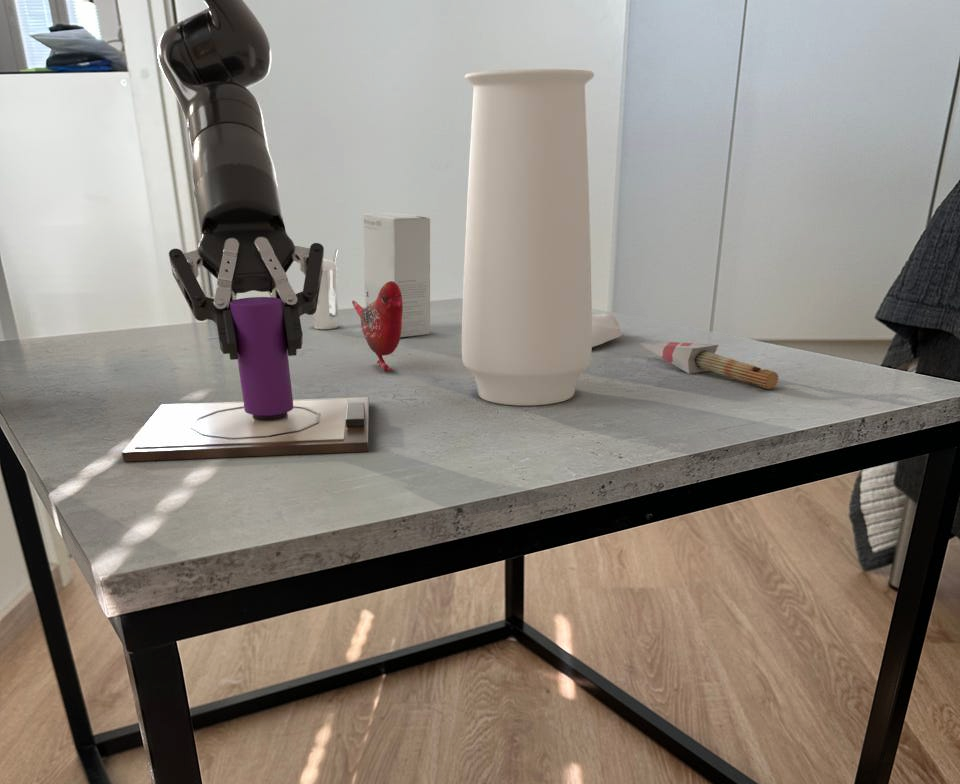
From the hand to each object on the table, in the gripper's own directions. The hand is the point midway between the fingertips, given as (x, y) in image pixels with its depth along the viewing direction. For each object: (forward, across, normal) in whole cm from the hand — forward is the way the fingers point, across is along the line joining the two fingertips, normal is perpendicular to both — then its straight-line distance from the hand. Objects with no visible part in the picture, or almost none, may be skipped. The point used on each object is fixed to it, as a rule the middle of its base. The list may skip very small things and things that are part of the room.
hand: (263, 351), depth 80 cm
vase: (+1, +26, +9) cm, 28 cm away
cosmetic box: (-27, +21, +37) cm, 50 cm away
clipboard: (+4, -1, +5) cm, 7 cm away
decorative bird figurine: (-12, +14, +22) cm, 29 cm away
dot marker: (+3, 0, +6) cm, 6 cm away
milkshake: (-33, +12, +42) cm, 55 cm away
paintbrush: (-1, +48, +12) cm, 49 cm away
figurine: (-19, +38, +29) cm, 51 cm away
